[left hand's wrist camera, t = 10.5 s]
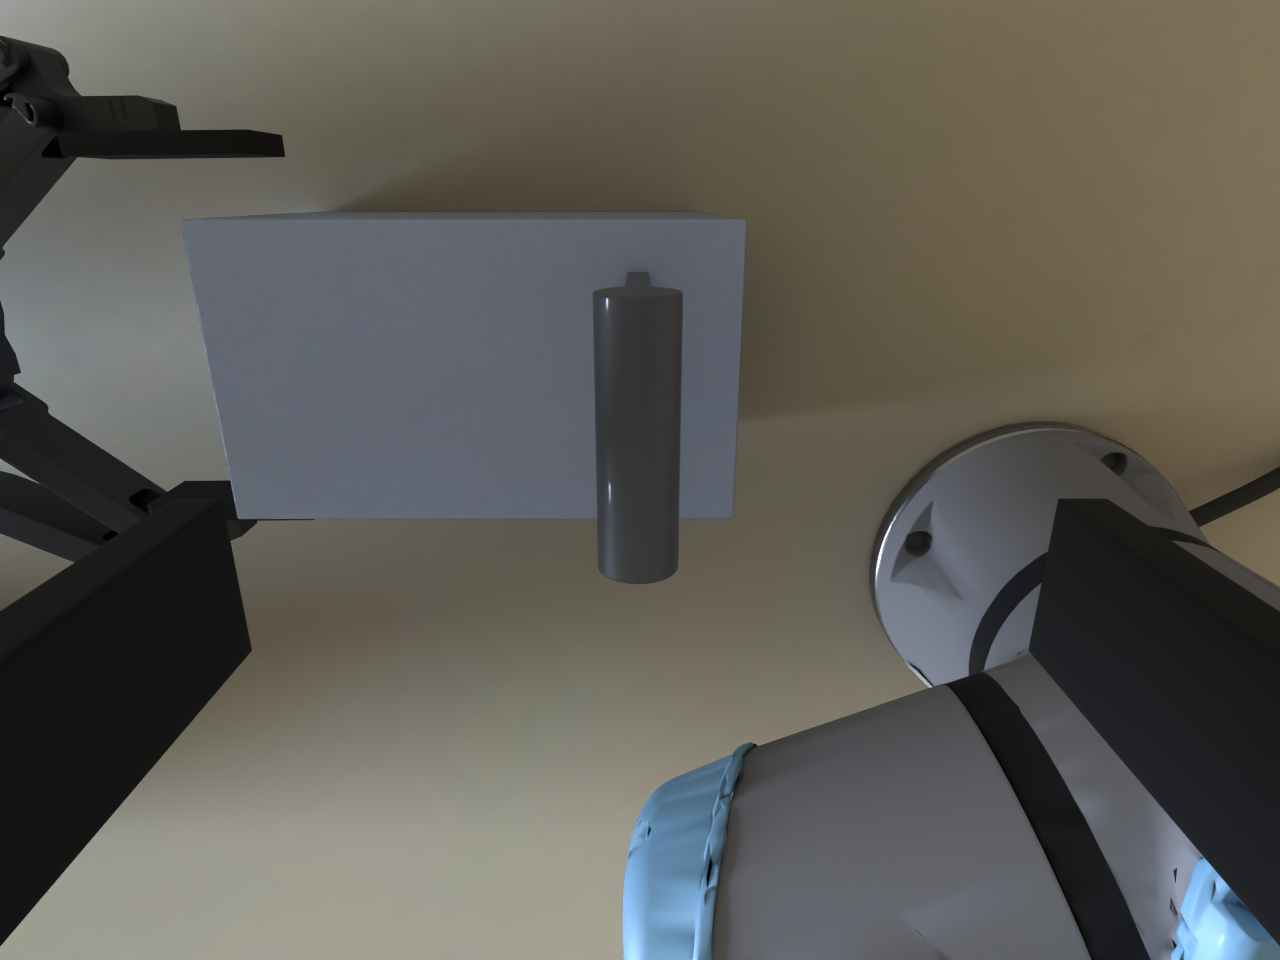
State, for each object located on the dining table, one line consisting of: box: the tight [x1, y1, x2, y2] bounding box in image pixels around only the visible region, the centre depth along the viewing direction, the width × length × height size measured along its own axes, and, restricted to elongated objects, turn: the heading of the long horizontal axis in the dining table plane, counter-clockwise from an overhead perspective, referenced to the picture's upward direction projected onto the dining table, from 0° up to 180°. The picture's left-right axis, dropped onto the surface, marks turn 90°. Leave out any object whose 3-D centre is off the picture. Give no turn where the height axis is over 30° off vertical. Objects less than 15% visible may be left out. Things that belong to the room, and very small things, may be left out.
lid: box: [181, 219, 746, 584], centre depth 23 cm, size 18×10×9 cm, turn 90°
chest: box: [204, 212, 724, 219], centre depth 32 cm, size 17×10×10 cm, turn 90°
